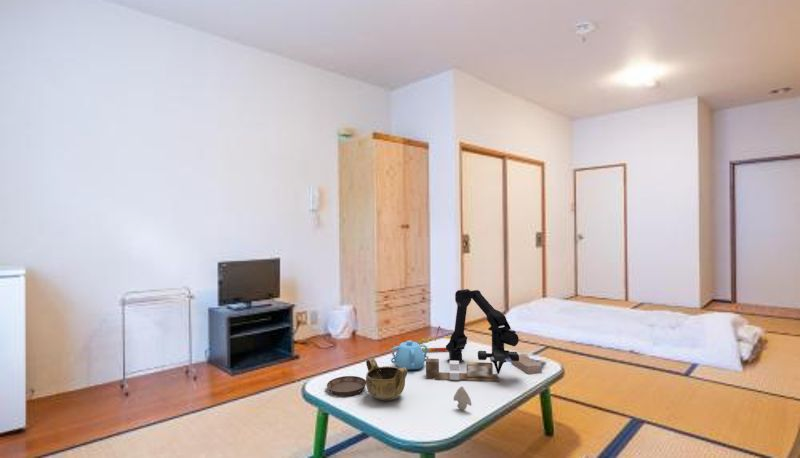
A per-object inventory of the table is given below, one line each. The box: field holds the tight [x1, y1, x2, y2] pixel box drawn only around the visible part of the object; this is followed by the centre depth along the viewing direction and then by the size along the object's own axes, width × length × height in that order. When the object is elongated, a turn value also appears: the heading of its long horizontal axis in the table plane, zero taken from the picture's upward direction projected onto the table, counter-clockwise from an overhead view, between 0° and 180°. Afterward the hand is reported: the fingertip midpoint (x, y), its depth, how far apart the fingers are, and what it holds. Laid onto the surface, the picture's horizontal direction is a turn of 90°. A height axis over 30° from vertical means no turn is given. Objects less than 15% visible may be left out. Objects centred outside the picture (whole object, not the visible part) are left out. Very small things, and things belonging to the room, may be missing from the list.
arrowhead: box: [453, 385, 472, 411], centre depth 169 cm, size 8×3×10 cm, turn 54°
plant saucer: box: [326, 375, 366, 397], centre depth 192 cm, size 18×18×3 cm
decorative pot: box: [390, 340, 429, 371], centre depth 220 cm, size 16×16×14 cm
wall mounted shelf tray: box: [466, 361, 494, 378], centre depth 202 cm, size 12×4×6 cm, turn 83°
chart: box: [418, 325, 451, 354], centre depth 244 cm, size 30×3×15 cm, turn 94°
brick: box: [510, 354, 543, 375], centre depth 216 cm, size 17×8×5 cm, turn 14°
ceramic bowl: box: [365, 357, 408, 402], centre depth 182 cm, size 22×17×15 cm
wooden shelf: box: [425, 357, 500, 383], centre depth 204 cm, size 34×8×8 cm, turn 83°
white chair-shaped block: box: [449, 361, 460, 381], centre depth 204 cm, size 4×9×6 cm, turn 173°
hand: (498, 373), depth 202 cm, fingers closed
